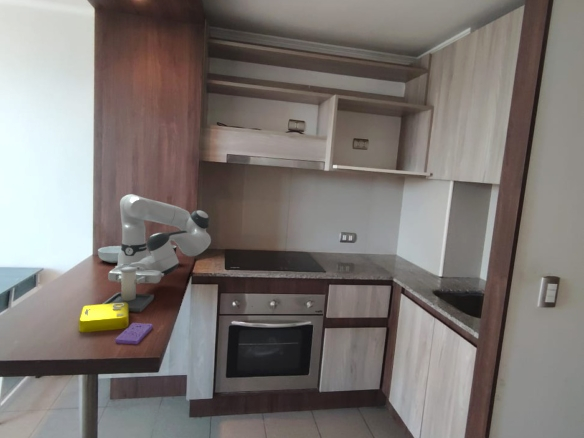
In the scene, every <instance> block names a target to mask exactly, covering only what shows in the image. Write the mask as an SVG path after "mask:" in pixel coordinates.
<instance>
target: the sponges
mask: <svg viewBox="0 0 584 438" xmlns="http://www.w3.org/2000/svg"><path fill="white" fill-rule="evenodd" d="M152 329H153V323H139V322H138V323H137V322H132V323H131V324H129V325H128V327H126V328H125V330H124V331H122V332H121V333H120V334H119V335H118V336H117V337H116V338H115V340H114V342H115V343H116V344H128V345H129V344H131V345H138V344H139V343H140V342H141V341H142V340H143V338H145V336H146V335H148V333H149V332H150V331H151V330H152Z"/></svg>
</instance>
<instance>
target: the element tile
mask: <svg viewBox="0 0 584 438" xmlns="http://www.w3.org/2000/svg"><path fill="white" fill-rule="evenodd" d="M129 314H130V312H129V310H128V304H127V303H112V304H103V303H102V304H101V303H100V304H99V303H98V304H87V305H84V306H82V309H81V311H80V314H79V318H78V332H79V333H93V332H103V331H113V330H121V329H123V330H124V329H127V328H129V323H130V322H129V316H130V315H129Z"/></svg>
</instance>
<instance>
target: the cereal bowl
mask: <svg viewBox="0 0 584 438" xmlns="http://www.w3.org/2000/svg"><path fill="white" fill-rule="evenodd" d="M121 251H122V250H121V245H113V246H112V245H111V246H109V245H108V246H104V247H103V246H102V247H100V248H98V249H97V255H98V258H99V259H100V260H102V261H104V262H107V263H110V264H118V255H119V253H120V252H121Z"/></svg>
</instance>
